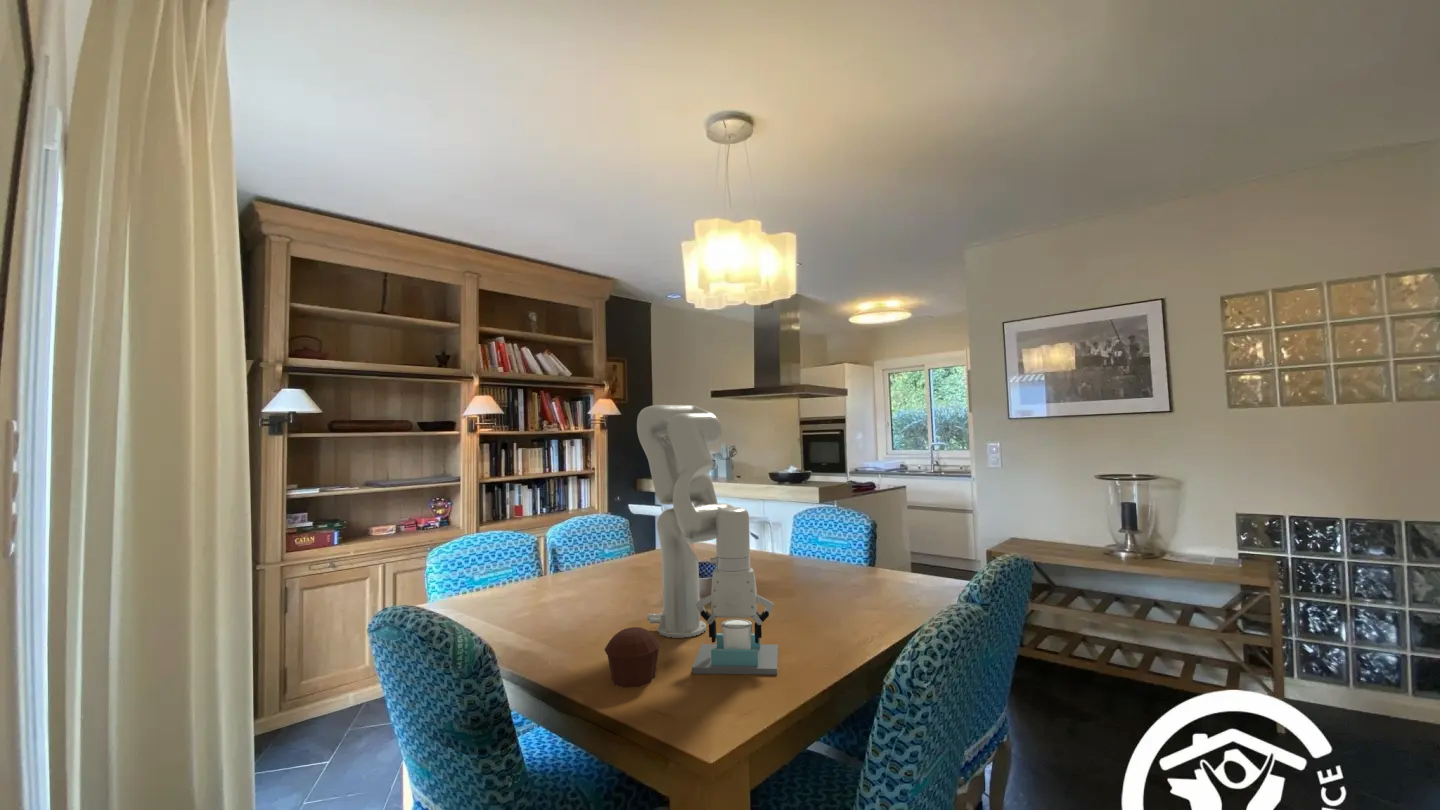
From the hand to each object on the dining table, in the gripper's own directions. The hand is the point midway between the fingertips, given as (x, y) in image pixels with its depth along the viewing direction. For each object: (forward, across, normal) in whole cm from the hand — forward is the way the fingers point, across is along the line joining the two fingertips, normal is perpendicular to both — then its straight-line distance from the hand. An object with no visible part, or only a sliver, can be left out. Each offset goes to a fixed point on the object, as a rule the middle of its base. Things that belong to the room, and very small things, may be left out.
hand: (735, 640), depth 129 cm
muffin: (+5, -21, -10) cm, 24 cm away
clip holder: (+4, 0, 0) cm, 4 cm away
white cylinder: (+3, 0, 0) cm, 3 cm away
